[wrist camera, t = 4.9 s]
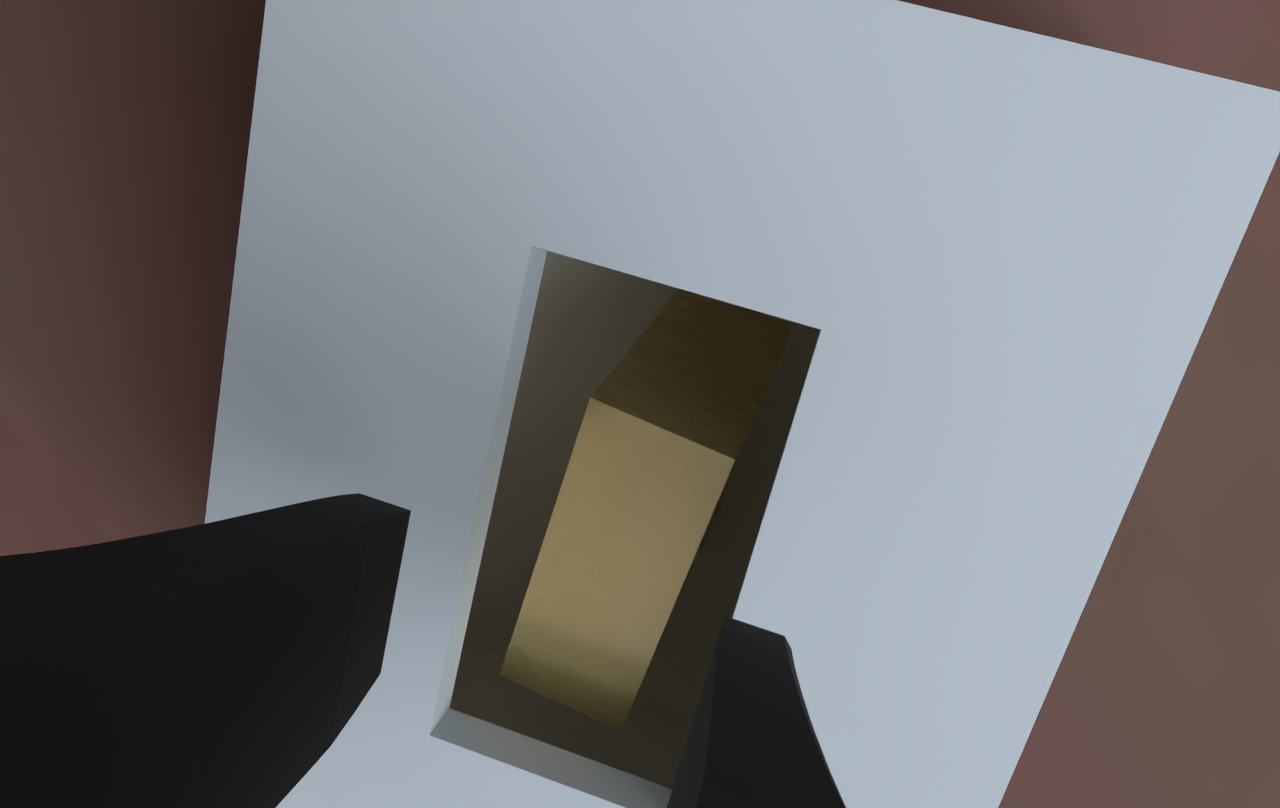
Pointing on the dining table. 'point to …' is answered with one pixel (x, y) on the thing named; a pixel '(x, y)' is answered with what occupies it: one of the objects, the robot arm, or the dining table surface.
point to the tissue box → (741, 275)
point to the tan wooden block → (641, 502)
